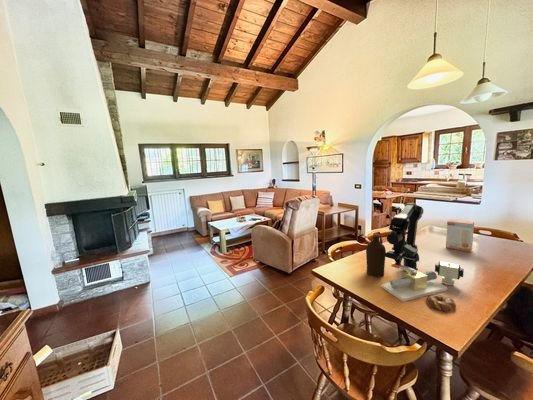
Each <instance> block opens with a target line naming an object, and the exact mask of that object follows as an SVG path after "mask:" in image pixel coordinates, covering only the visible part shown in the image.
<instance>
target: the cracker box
mask: <svg viewBox="0 0 533 400" xmlns="http://www.w3.org/2000/svg"><path fill="white" fill-rule="evenodd" d="M474 227H475V222H473V221H465V220H458V219H457V220H456V219H449V220H447V224H446V237H445V239H446V240H445V242H446V243H445V248H446V249H452V250H456V251H461V252H466V253H471V252H472V251H473V245H474V244H473V241H474V240H473V239H474V231H475V230H474Z"/></svg>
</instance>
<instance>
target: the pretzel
mask: <svg viewBox="0 0 533 400" xmlns="http://www.w3.org/2000/svg"><path fill="white" fill-rule="evenodd" d="M425 298H426V299H425V301H426V303H427V304H428V306H430V307H431V308H433V310H437V311H442V312H444V313H450V312H451V311H453V310H455V309H457V304H456V303H455V300H454V299H453V298H452V297H449V296H446V297H445V296H444V295H441V294H436V293H434V294H430V295H427V297H425Z"/></svg>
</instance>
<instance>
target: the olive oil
mask: <svg viewBox="0 0 533 400" xmlns="http://www.w3.org/2000/svg"><path fill="white" fill-rule="evenodd" d="M386 250H387V249H386V247H385V244H383V243H382V242H381V241H380V233H373V234H372V240H371V241H370V242H368V243H367V245H366V247H365V254H366V255H365V257H366V273H367V275H369V276H371V277H374V278H383V277H384V276H385V263H386V257H385V253H387V251H386Z"/></svg>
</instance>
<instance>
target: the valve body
mask: <svg viewBox="0 0 533 400" xmlns="http://www.w3.org/2000/svg"><path fill="white" fill-rule="evenodd" d="M416 271H417V274H412V273H411V272H410V271H407V270H402V271H401V277H400V278H396V279H392V280H389V281H390V282H389V283H390V284H391V286H392V288H394V289H398V288H402V287H408V288H409V289H411V290H413V291H418V290H422V289H426V288H427V281H431V280H433V281H435V280H436V279H437V278H438V274H437V272H435V271H432V270H430V271H425V272H421V271H419V270H416Z"/></svg>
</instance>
